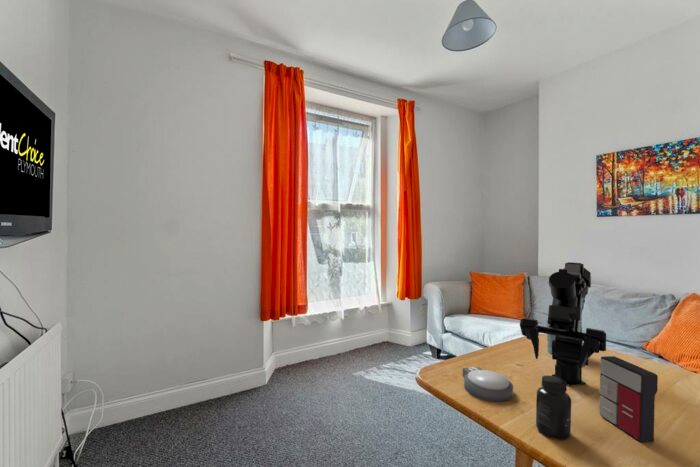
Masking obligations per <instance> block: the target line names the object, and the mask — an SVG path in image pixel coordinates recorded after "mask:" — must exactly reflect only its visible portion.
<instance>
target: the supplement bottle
mask: <svg viewBox="0 0 700 467" xmlns="http://www.w3.org/2000/svg"><path fill="white" fill-rule="evenodd" d="M540 384H541V386H540V387H538V389H537V390H536V399H535V400H536V404H535V405H536V406H535V413H536V414H535V425H536V426H535V427H536V428H537V430H538V432H540V433H541V434H543V435H545V436H547V437H549V438H552V439H554V440H562V441H563V440H564V441H565V440H567V439H569V438H570V437H571V435H572V434H571V432H572V431H571V430H572V429H571V428H572V398H571V396H570V394H568V392H567V391H568V389H567V385H566V381H565V380H563V379H561V378H559V377H555V376H552V375H548V374H547V375H543V376H542V377H541V383H540Z"/></svg>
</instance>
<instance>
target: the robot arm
mask: <svg viewBox="0 0 700 467" xmlns="http://www.w3.org/2000/svg"><path fill="white" fill-rule="evenodd" d="M584 266H585V265H584V263H581V262H569V261H568V262H565V264H564V268H559V269H558V271H555V272H554V273H552V274H550V276H549V277H548V286H549V288H550V294H551V296H552V303H551V304H549V306H548V311H547V312H548V314H547V320H548V324H549V327H547V325H541V324H539V321H538V319H535V318H527V317H522V319H520V321H519V327H520V332H521V335H522V336H524V337H526V339H528V340H530V341H531V343H532V347H533V351H534V355H535V359H536V360H538V359H539V354H540V352H539V350H540V339H539V338H540V337H539V334H545V335H547V334H550V335H555V340H553V341H552V355H551V356H552V357H551V359H552V360H554V361H556V362H555V364H554V368H555V369H554V374H552V375H551V376H555V377H559V378H561V379H563V380H565V381H566V386H580V385H583V386H584V385H585V386H586V385H587V382H585V381H583V380H582V379H583V378H582V373H583V367H585V366H589V358H590V357H591V356H592V355H593V354H595V353H596V354H599V353H600V352H606V351H607V333H606V332H605V330H602V329H597V328H596V329H595V328H589V327H586V328H585V332H581V331H580V321H581V320H582V300H583V298H584V297H586V296H587V295H589V289H590V288H591V287H592V274H591V272H590V270H588V269H586V268H585V267H584ZM579 331H580V332H579Z"/></svg>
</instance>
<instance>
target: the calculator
mask: <svg viewBox="0 0 700 467" xmlns="http://www.w3.org/2000/svg"><path fill="white" fill-rule="evenodd" d="M658 377H659V376H658V375H657V374H656V373H655V372H652V371H650V370H647V369H645V368H642V367H640V366H638V365H636V364H633V363H631V362H628V361H627V360H624V359H622V358H619V357H617V356H614V355H611V356H610V355H609V356H607V355H606V356H600V375H599V401H598V403H599V404H598V407H599V408H598V411H599V412H598V414H599V415H600V416H601V417H602V418H604V419H605V420H607V421H608V422H610V423H611V424H613V425H614V426H616V427H617V428H619V429H620V430H622V431H624V432H625V433H627V434H628V435H630V436H631V437H632V438H634V439H635V440H637V441H639V442H640V443H649V442H651V443H652V442H654V439H655V403H656V402H655V401H656V397H655V396H656V394H657V393H658V379H659V378H658Z"/></svg>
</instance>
